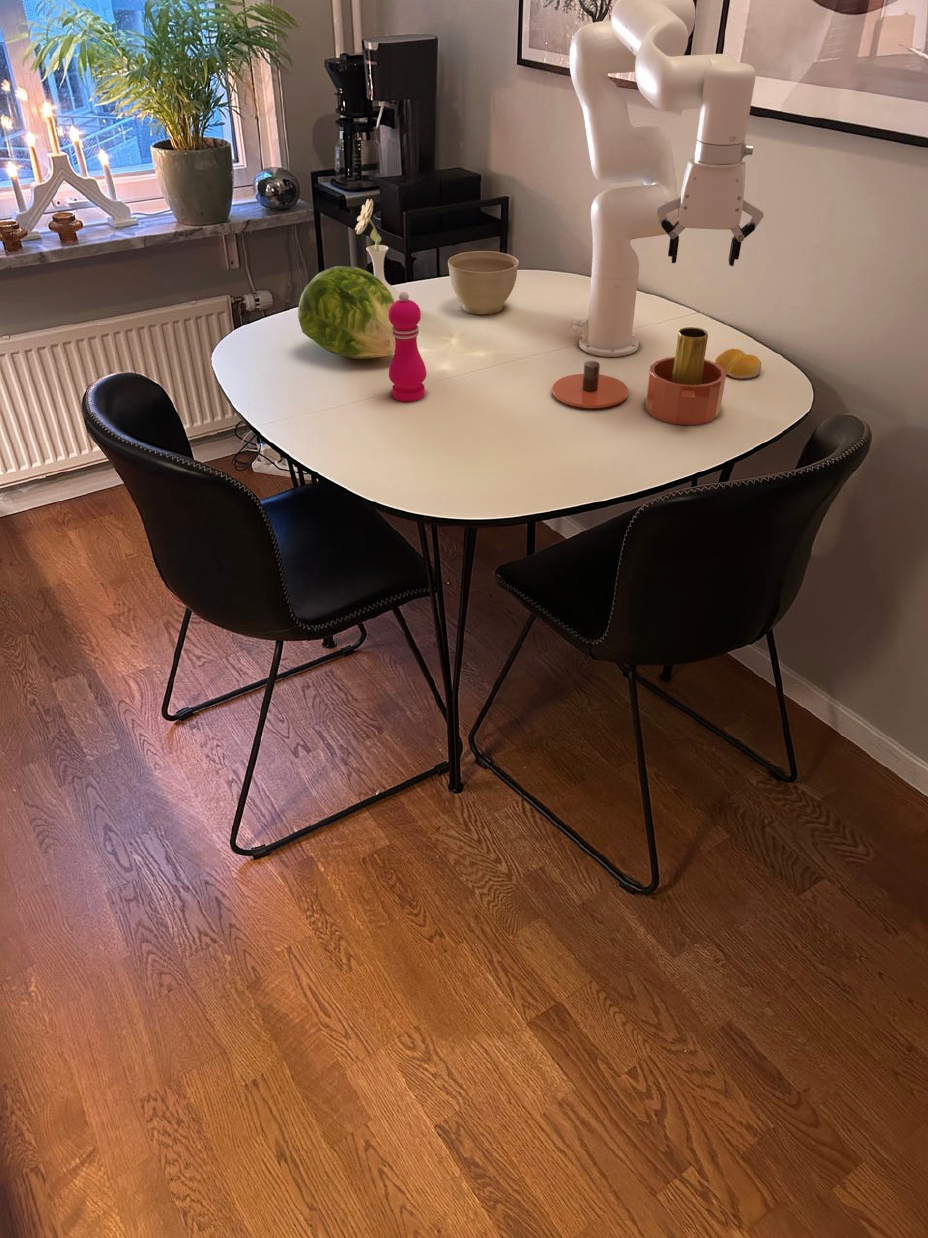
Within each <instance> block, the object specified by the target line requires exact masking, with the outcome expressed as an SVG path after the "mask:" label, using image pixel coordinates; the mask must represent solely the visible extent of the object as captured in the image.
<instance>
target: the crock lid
mask: <svg viewBox="0 0 928 1238" xmlns="http://www.w3.org/2000/svg"><path fill="white" fill-rule="evenodd" d="M583 363H584V364H583V373H576V374H575V373H574V374H570V375H566V376H563V377H561V378H559V379H557V380H556V381H555V382H554V383H553V385H552V387H551V391H552V395H553V396H554V397H555V398H556V399H557V400H558V401H560V402H562V403H564V404H566V405H568V406H569V405H570V406H573V407H578V408H584V409H585V408H587V409H600V408H607V407H612V406H615V405H618V404H620V403H622V402H624V401H625V400H626V399H627V397H628V395H629V388H628V386H627V385H626V384H625V382H624V381H622V380H619V379H618V378H615V377H612V376H610V375H605V374H600V368H601V364H600V362H598V361H596V360H595V361H594V360H588V361H585V362H583Z"/></svg>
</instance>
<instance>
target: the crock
mask: <svg viewBox="0 0 928 1238" xmlns="http://www.w3.org/2000/svg"><path fill="white" fill-rule="evenodd" d="M674 360H675V356H670V357H665V358H662V359H658V360H655V361H654V362H653V363H652V364H651V365H650V366H649V375H648V383H647V391H646V400H645V410H646V412H647V413H648V414H649V415H650V416H652V417H653V418H655V419H657V420H659V421H662V422H663V423H669V424H673V425H679V426H696V425H703V424H706V423H709V422H712V421H714V420H715V419H716V418H718V416H719V414H720V412H721V408H722V402H723V395H724V391H725V385H726V378H727V374H726V373H725V370H724V369H723V368H722V367H721V366H720V365H719V364H716V363H715V361H711V360H710V359H704V367H703V375H702V384H700V385H684V384H678V383H673V382H671V378H672V372H673V367H674Z"/></svg>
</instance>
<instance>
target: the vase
mask: <svg viewBox="0 0 928 1238" xmlns="http://www.w3.org/2000/svg"><path fill="white" fill-rule="evenodd" d="M708 339H709V333H708V331H707V330H705V329H704V328H702V327H701V328H700V327H696V326H695V327H694V326H690V327H689V326H688V327H683V328H680V329H679V330H678V331H677V340H676V349H675V356H674V357H675V360H674V367H673V372H672V378H671V382H673V383H678V384H684V385H700V384H702V375H703V367H704V359H705V358H706V351H707V343H708ZM705 360H706V359H705Z"/></svg>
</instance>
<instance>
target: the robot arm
mask: <svg viewBox="0 0 928 1238" xmlns="http://www.w3.org/2000/svg"><path fill="white" fill-rule="evenodd" d="M696 18H697V17H696V5H695V2H694V0H617V1H616V2H615V4H614V6H613V8H612V12H611V17H610V19H611V20H601V21H595V22H591V23H587V24H585V25H583V26H581V27H579V29H578V30H577V31H575V33H574V34H573V36H572V39H571V42H570V46H569V58H568V59H569V62H568V63H569V73H570V78H571V82H572V86H573V88H574V91H575V94H576V96H577V98H578V99H577V100H578V102H579V104H580V108H581V111H582V115H583V120H584V121H583V122H584V126H585V127H584V128H585V134H586V141H587V148H588V154H589V155H588V156H589V161H590V167H591V171H592V174H593V177H594V178H595V179H596V181H598V182H600V183H602V184H603V183H604V184H617V183H628V182H638V181H639V182H640V181H641V182H642V184H643V185H631V186H630V185H629V186H621V187H614V188H609V189H606V190H603V191H602V192H600V193H598V194H597V195H596V196H595V198H594V199H593V200H592V203H591V206H590V224H591V225H590V226H591V236H592V259H591V278H590V290H589V305H588V316H587V317H588V318H587V320H585V321H582V320H579V319H571V321H570V329H571V330H570V331H571V332H572V333H576V334H580V335H581V336H580V338H579V341H578V342H579V343H578V345H579V347H580V349H581V350H582V351H584V352H585V353H588V354H590V355H593V356H599V357H606V358H607V357H608V358H616V357H618V358H619V357H624V356H628V355H631V354H633V353H635V352H636V351H637V350H638V349H639V344H640V343H639V339H638V338H637V337H635V335H633V329H634V320H635V309H636V300H637V299H636V298H637V292H638V291H637V290H638V281H639V273H640V271H639V270H640V260H639V256H638V255H637V252H636V250H634V248H633V247H632V244H631V241H633V240H637V239H644V238H645V239H646V238H653V237H660V236H665V235H668V237H669V244H668V251H667V257H669V258H670V257H671V264H675V263H677V258H678V250H679V244H680V243H679V242H680V234H681V233H682V232H683V231H684V230H685V229H696V230H697V229H698V230H699V229H701V230H721V231H723V230H725V231H727V230H730V231H731V233H732V234H733V236H732V238H731V243H730V247H729V254H728V265H729V266H730V267H734V266H735V260H739V258H740V253H741V247H742V242H743V241H744V240H745V239H746V238H747V237H748V236H750V235H751V234H752V233H753V232H755V230H756V228H757V227H758V226H759V224H760V223H761V221H762V219H763V218H764V212H763V211H762V210H761V209H760V208H757V207H756V206H755V205H753V204H752V203H750V202H748V201H747V200H746V199H744V198H745V189H746V173H747V172H746V171H747V170H746V169H747V168H746V161H744V160H743V158H745V157H747V156H752V155H753V154H754V153H753V152H754V145H749V144H747V142H746V135H747V130H748V125H749V119H750V113H751V108H752V100H753V96H754V94H753V93H754V90H755V89H754V88H755V84H756V70H755V68H754V66H752V65H751V64H749V63H746V62H738V61H737V60H736V59H735V58H734V57H733V56H731V55H729V54H725V53H709V54H691V55H690V54H689V55H685V53H686V51H687V48H688V44H689V37H690V36H691V34H692V32H693V30H694V28H695V27H694V26H695V23H696ZM624 73H634V75H635V81H636V86H637V88H638V91H639V92H640V94H641V95H642V96H643V97H644V98H645V99H646V101H648V102H649V103H650V104H651V105H652V106H653V107H654V108H656V109H657V110H660V111H664V112H674V111H675V112H676V111H677V112H678V111H686V110H687V111H689V110H699V116H698V117H699V118H698V124H697V131H696V132H697V133H696V139H695V145H694V146H695V147H694V155H693V158H689V159H688V162H687V164H686V168H685V171H684V175H683V178H682V179H683V180H682V184H681V189H680V196H679V192H678V184H677V176H676V169H675V162H674V152H673V147H672V144H671V141H670V138H669V136H668V134H667V133H666V132H665V131H664V129H662V128H661V127H658V126H653V125H648V126H633V125H632V123H631V120H630V114H629V107H628V102H627V99H626V97H625V95H624V94H623V92H622V91H621V89H620V88H619V87H618V85H616V83H615V82H614V81H613V80H612V79H611V78H610V77H609V74H624ZM743 212H745V214H748V215H749V216H750V217H751V218H750V220H749V222H747V223H746V224H745V225H744V226H743V227H741V226H740V224H741V220H742V213H743Z"/></svg>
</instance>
